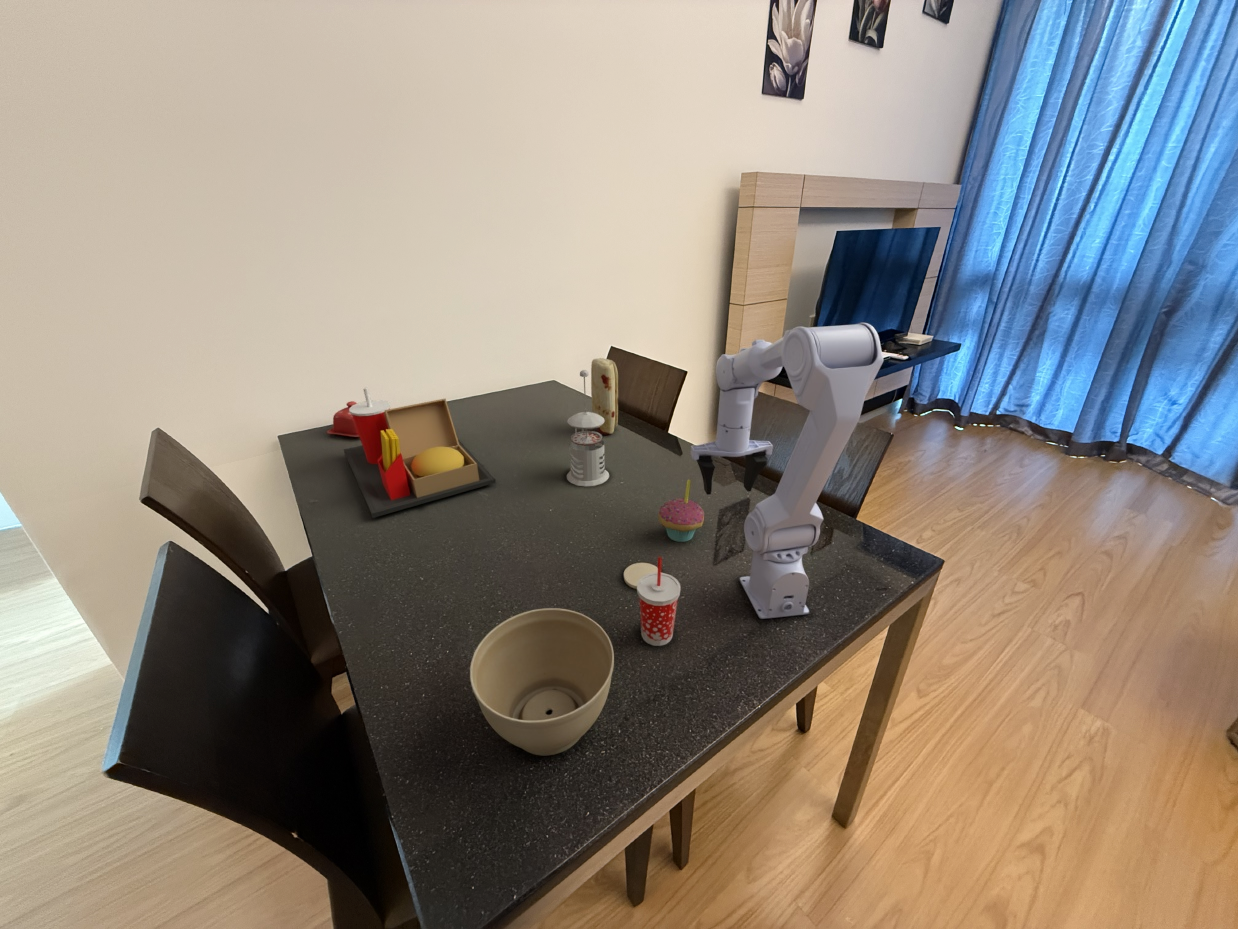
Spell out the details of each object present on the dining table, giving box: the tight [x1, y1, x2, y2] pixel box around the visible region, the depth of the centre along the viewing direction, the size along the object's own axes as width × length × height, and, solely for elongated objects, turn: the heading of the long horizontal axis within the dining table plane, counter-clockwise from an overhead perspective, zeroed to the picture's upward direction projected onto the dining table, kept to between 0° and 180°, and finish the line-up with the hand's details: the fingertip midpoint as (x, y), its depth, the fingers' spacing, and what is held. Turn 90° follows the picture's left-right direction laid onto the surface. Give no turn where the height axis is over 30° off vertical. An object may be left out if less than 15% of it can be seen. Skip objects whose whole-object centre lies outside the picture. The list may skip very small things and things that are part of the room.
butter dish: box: [326, 400, 360, 438], centre depth 142 cm, size 12×12×8 cm
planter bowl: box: [469, 607, 615, 757], centre depth 62 cm, size 16×16×11 cm
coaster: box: [623, 562, 658, 590], centre depth 89 cm, size 6×6×1 cm
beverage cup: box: [636, 555, 681, 647], centre depth 74 cm, size 6×6×14 cm
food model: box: [590, 357, 619, 436], centre depth 139 cm, size 10×7×20 cm
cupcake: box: [658, 475, 706, 543], centre depth 97 cm, size 9×8×12 cm
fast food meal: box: [343, 387, 496, 518], centre depth 119 cm, size 26×35×18 cm
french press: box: [566, 369, 610, 487], centre depth 116 cm, size 10×12×25 cm
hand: (727, 490), depth 98 cm, fingers open, 7 cm apart
